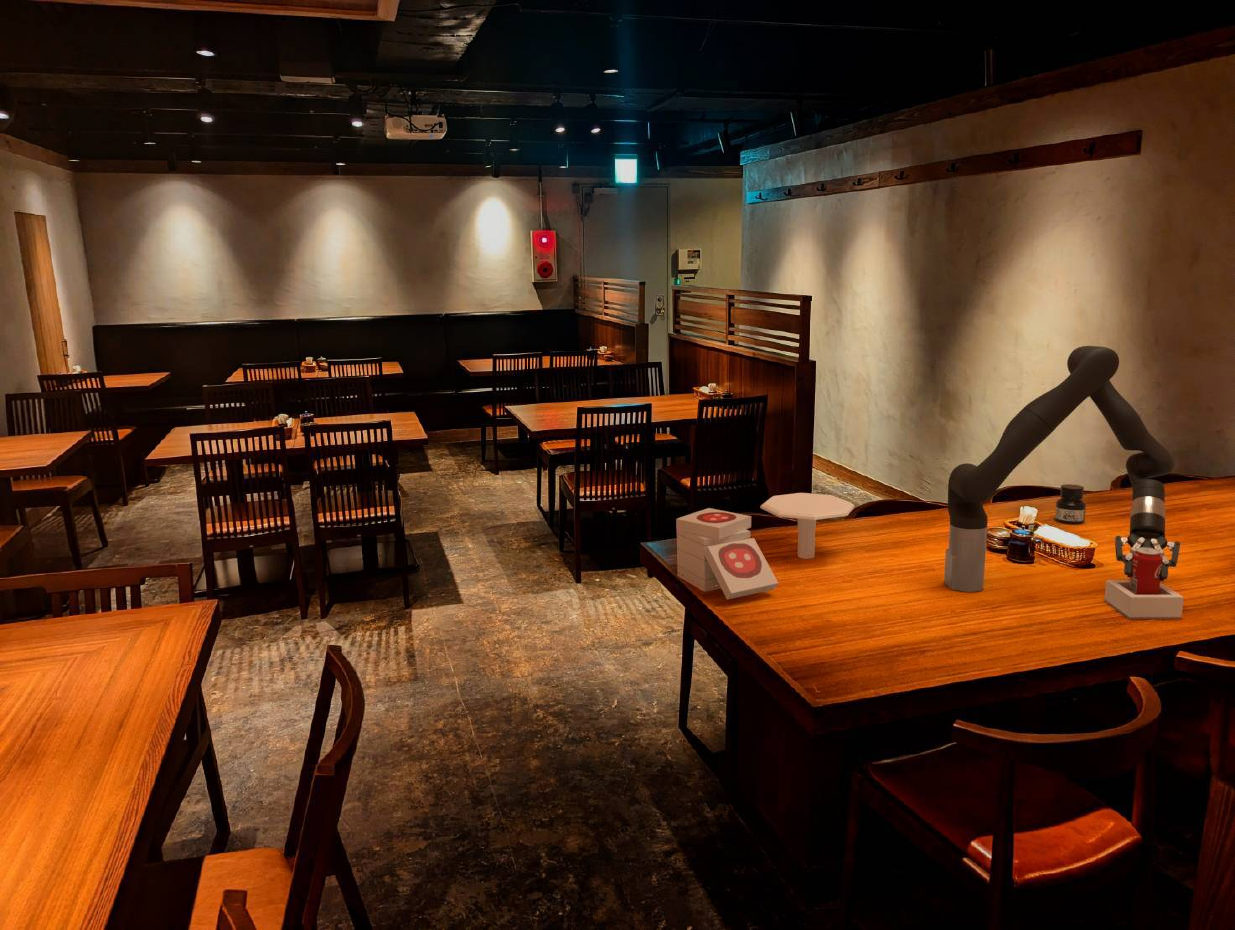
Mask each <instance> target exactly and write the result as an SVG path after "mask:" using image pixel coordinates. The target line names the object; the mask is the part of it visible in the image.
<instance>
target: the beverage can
mask: <svg viewBox="0 0 1235 930" xmlns="http://www.w3.org/2000/svg"><path fill="white" fill-rule="evenodd" d="M1162 559H1163V558H1162V556H1161V555H1160V551H1159V550H1156V549H1153V548H1146V547H1141V548H1137V549H1136V551H1135V552H1134V553H1133V554H1132V567H1131V578H1130V577H1129V580H1130V583H1129V591H1130V592H1132V593H1133V594H1135V595H1159V588H1160V583H1161V581H1160V578H1161V569H1162Z"/></svg>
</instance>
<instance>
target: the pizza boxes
mask: <svg viewBox="0 0 1235 930" xmlns="http://www.w3.org/2000/svg"><path fill="white" fill-rule="evenodd" d="M675 521H676V522H675V523H676V525H675V526H676V529H675V530H676V557H677V559H676V562H677V566H676V567H677V569H676V570H677V572H678V573H677V572H676V573H677V575H676V576H677V577H678V578H680V579H682V580H684V581H685V582H687V583H688V584H690V585H692V586H694V587H696V588H698V589H699V590H701V591H703V592H705V593H706V592H711V591H716V590H720V589H721V590H722V593H723V595H724V596H725V598H726V600H727V601H728V600H732V599H736V598H742V597H746V596H751V595H755V594H759V593H764V592H769V591H773V590H775V589H776V587H777V586H778V585H779V582H778V579H777V578H776V576H775V574H774V573H773V570H772V569H771V566H770V565H769V563H768V561H767V560H766V558H765V556H764V554H763V552H762V551H761V548H760V547H759V544H757V541H756V539H755V538H754V537H752V538H751V530H748V529H751V528H752V516H751V515H745V514H741V513H736V512H730V511H726V510H720V509H715V508H711V507H708V508H705V509H702V510H699V511H695V512H692V513H690V514H686V515H684V516H680V517H678V518H676V520H675ZM679 573H680V574H679ZM681 574H682V575H684V576H685V577H684V576H682V575H681ZM686 577H687V578H686ZM689 579H690V580H689ZM691 580H692V581H691ZM693 581H694V582H693ZM696 583H697V584H696ZM698 584H699V585H698ZM700 585H701V586H700ZM715 585H718V586H715ZM711 586H713V587H711ZM703 587H704V588H703ZM706 587H708V588H706Z"/></svg>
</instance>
